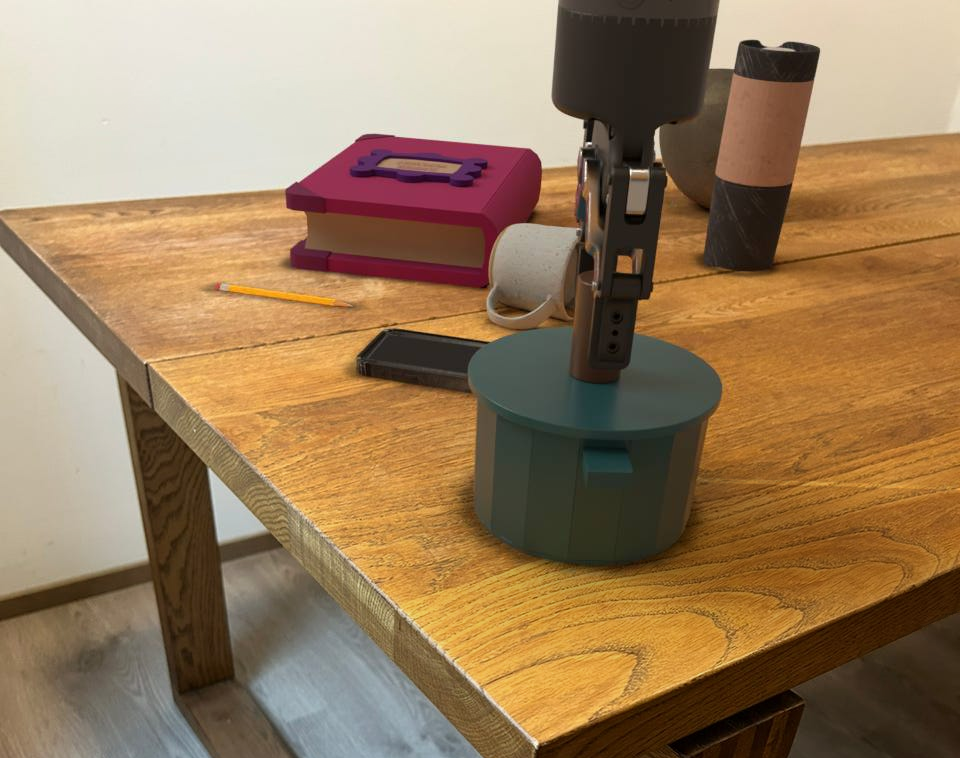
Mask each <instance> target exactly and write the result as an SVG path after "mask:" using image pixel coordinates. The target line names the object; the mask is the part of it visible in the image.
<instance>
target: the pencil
mask: <svg viewBox="0 0 960 758" xmlns="http://www.w3.org/2000/svg"><path fill="white" fill-rule="evenodd" d="M214 286H215V287H214V290H215V291H223V292H230V293H238V294H243V295H244V294H245V295H252V296H257V297H264V298H265V297H266V298H271V299H279V300H287V301H295V302H299V303H307V304H308V303H309V304H316V305H322V306H330V307H341V308H350V307H352V308H353V305H352V304H349V303H346V302H344V301H341V300H339V299H336V298H330V297H322V296H314V295H309V294H308V295H306V294H299V293H293V292H285V291H278V290H270V289H263V288H257V287H248V286H241V285H234V284H227V283H221V282H220V283H219V282H218V283H216V284H215V285H214Z"/></svg>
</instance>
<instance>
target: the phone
mask: <svg viewBox="0 0 960 758" xmlns="http://www.w3.org/2000/svg"><path fill="white" fill-rule="evenodd" d="M490 342H491V341H488V340H481V339H474V338H467V337H460V336H453V335H445V334H439V333H433V332H432V333H431V332H424V331H418V330H411V329H404V328H395V327H394V328H393V327H391V328H386V329H385V328H384V329H382V330H381V331H380V332H379V333H378V334H377V335H376V336H375V337H374V338H373V339H372V340H371V341H370V342H369V343H368V344H367V345H366V346H365V347H364V348H363V349H362V350H361V351H360V352H359V353H358V354H357V355H356V357H355V358H356V360H355V361H356V373H358V374H359V375H360V376H362V377H363V376H364V377H369V378H376V379H380V380H381V379H382V380H389V381H395V382H399V383H408V384H414V385H420V386H425V387H432V388H433V387H434V388H440V389H446V390H453V391H459V392H467V393H472V391H471V389H470V387H469V384H468V366H469V362H470V360H471V358H472V356H473V355H474V354H475V353H476V352H477V351H478V350H479V349H480V348H482V347H483V346H484V345H486V344H488V343H490ZM472 394H473V393H472Z"/></svg>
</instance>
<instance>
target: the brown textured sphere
mask: <svg viewBox="0 0 960 758" xmlns="http://www.w3.org/2000/svg"><path fill="white" fill-rule="evenodd" d="M733 73H734V68H721V67H719V68H709V72H708V79H707V85H706V91H705V98H704V104H703V108H702V110H701V112H700V114H699V115H698V116H697V117H696V118H694V119H693V120H690V121H688V122H685V123H681V124H676V125H673V124H668V123H666V124H664V125H662V126H660V127H659V128H658V129H659V130H658V134H659V135H658V142H659V143H658V144H659V149H660V151H659V152H660V156H661V160H662V161H661V162H663V167H665V168H666V174H667V176H669V177H670V179H671V180H672V182H673V184H674V185H675V187H676V188H677V189H678V190H679V192H681V193H682V194H683V195H684V196H685V197H687V198H688V199H690V200H691V201H692V202H693V203H695V204H697V205H699V206H701V207H703V208H705V209H708V210H710V206H711V199H712V192H713V185H714V178H715V175H716V174H715V172H716V166H717V161H718V155H719V150H720V144H721V139H722V133H723V128H724V122H725V117H726V111H727V106H728V100H729V95H730V89H731V84H732V78H733Z"/></svg>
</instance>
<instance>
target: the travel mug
mask: <svg viewBox="0 0 960 758" xmlns="http://www.w3.org/2000/svg"><path fill="white" fill-rule="evenodd" d="M820 55H821V47H819V46H817V45H813V44H810V43H805V42H801V41H800V42H799V41H785V42H783V43H782V44H780V45H779V46H767V45H764V44H762V42H761V41H760V40H759V39H745V40H741V41H739V43H738V46H737V51H736V57H735V62H734V67H733V69H734V73H733V78H732V84H731V89H730V95H729V100H728V106H727V111H726V117H725V122H724V128H723V133H722V139H721V144H720V150H719V155H718V161H717V166H716V172H715V174H716V175H715V178H714V185H713V192H712V199H711V206H710V209H709V214H708V221H707V229H706V234H705V243H704V251H703V259H702V261H703V264H704V265H706V266H707V267H709V268H720V269H725V270H730V271H736V272H737V271H738V272H759V271H764V270H772V268H773V263H774V260H775V257H776V252H777V250H778V249H777V248H778V244H779V241H780V237H781V233H782V229H783V224H784V220H785V217H786V212H787V209H788V204H789V200H790V196H791V192H792V188H793V182H794V180H795V175H796V169H797V165H798V160H799V157H800V150H801V147H802V141H803V137H804V131H805V127H806V122H807V117H808V114H809V113H808V112H809V108H810V103H811V98H812V94H813V88H814V84H815V78H816V75H817V71H818V70H817V69H818V65H819V59H820Z"/></svg>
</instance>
